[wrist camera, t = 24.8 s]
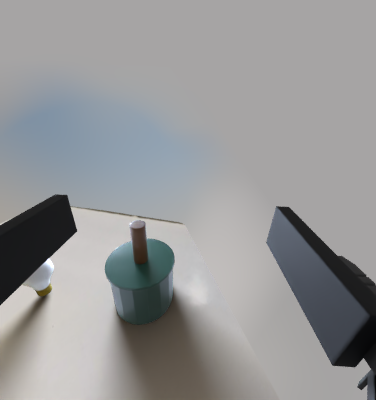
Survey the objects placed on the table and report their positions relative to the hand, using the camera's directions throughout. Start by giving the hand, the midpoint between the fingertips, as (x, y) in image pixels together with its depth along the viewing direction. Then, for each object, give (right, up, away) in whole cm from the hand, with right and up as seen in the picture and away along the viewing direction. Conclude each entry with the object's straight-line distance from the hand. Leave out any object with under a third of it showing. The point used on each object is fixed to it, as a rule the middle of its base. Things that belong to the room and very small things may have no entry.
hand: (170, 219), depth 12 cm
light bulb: (-31, -20, +30) cm, 48 cm away
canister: (-9, -21, +30) cm, 37 cm away
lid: (-8, -11, +25) cm, 29 cm away
